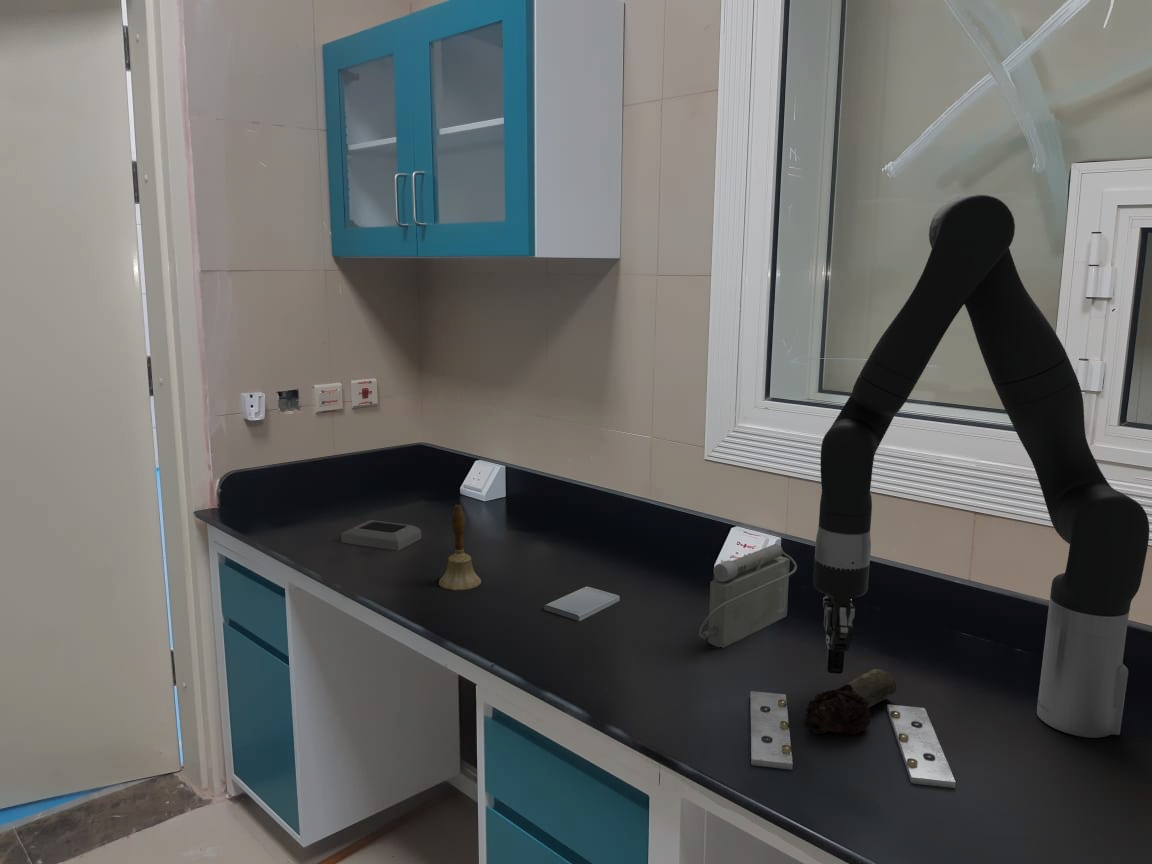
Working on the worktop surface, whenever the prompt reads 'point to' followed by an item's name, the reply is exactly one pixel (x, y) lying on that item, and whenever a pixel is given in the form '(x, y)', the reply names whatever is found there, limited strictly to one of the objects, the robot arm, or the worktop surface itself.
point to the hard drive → (582, 603)
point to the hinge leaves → (907, 723)
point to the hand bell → (459, 559)
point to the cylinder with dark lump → (849, 704)
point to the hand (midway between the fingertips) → (834, 670)
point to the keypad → (382, 535)
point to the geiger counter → (747, 595)
